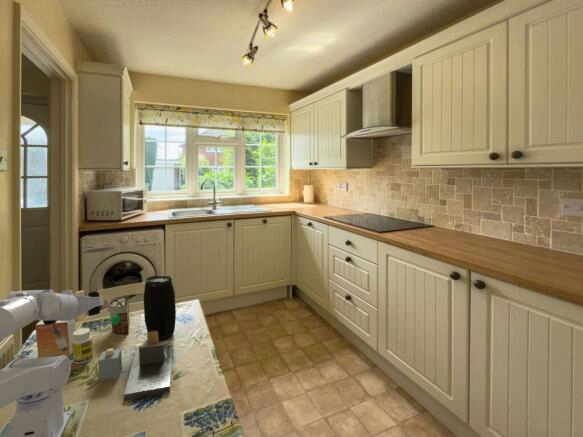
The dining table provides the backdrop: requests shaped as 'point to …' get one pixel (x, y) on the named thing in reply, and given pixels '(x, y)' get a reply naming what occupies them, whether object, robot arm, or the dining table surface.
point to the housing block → (110, 364)
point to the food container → (119, 314)
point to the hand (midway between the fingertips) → (84, 308)
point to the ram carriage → (151, 350)
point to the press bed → (149, 376)
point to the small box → (55, 338)
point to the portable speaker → (160, 306)
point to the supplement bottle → (82, 346)
